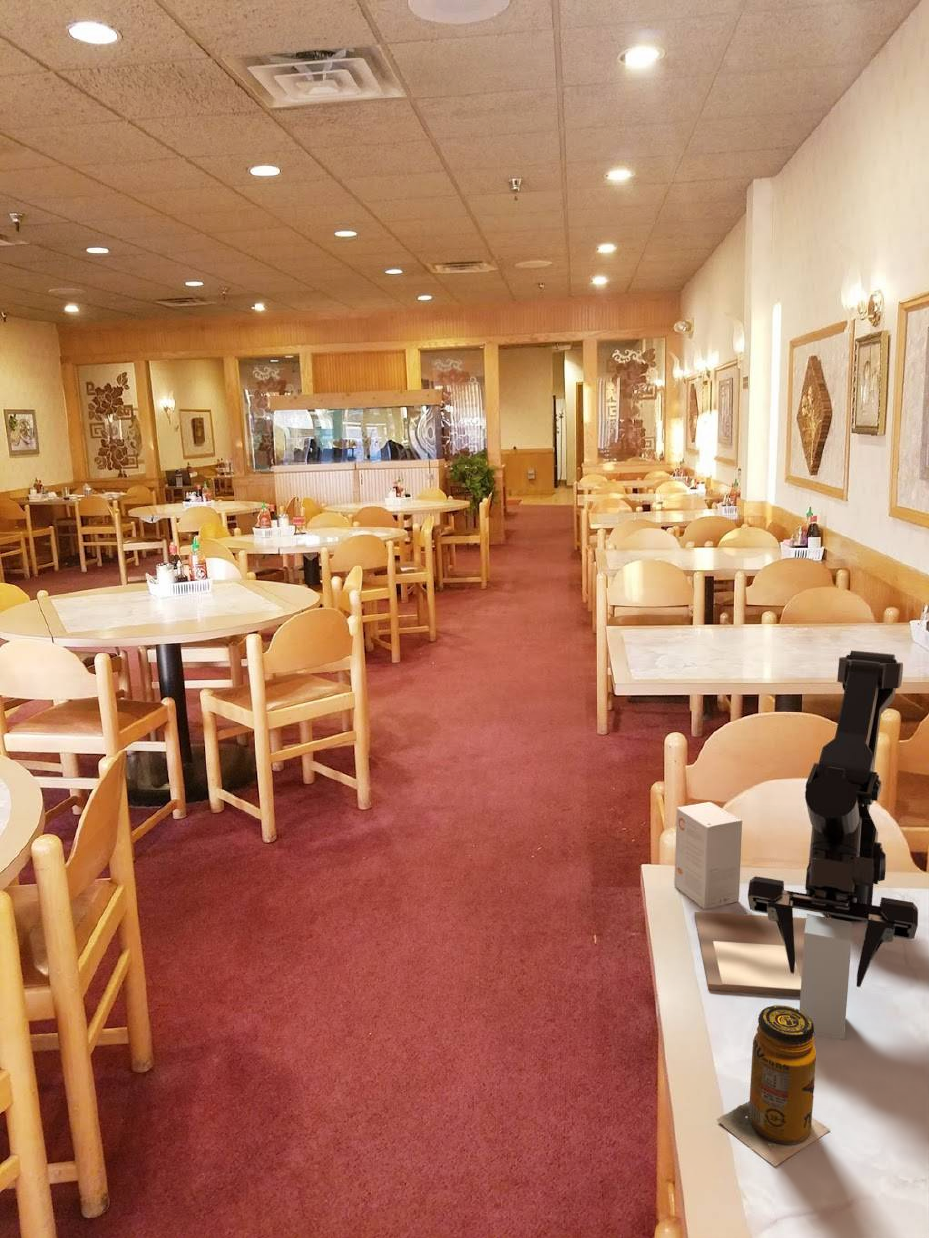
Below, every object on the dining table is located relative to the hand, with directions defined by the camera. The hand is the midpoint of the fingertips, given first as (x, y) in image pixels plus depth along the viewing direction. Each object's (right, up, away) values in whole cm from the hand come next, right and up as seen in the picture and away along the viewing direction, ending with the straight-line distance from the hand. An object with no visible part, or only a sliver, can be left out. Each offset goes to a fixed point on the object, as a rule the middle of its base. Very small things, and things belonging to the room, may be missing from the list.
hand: (824, 979), depth 108 cm
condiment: (-10, -10, -13) cm, 20 cm away
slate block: (+1, -6, +3) cm, 7 cm away
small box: (-5, 0, +34) cm, 34 cm away
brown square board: (-2, -3, +16) cm, 17 cm away
